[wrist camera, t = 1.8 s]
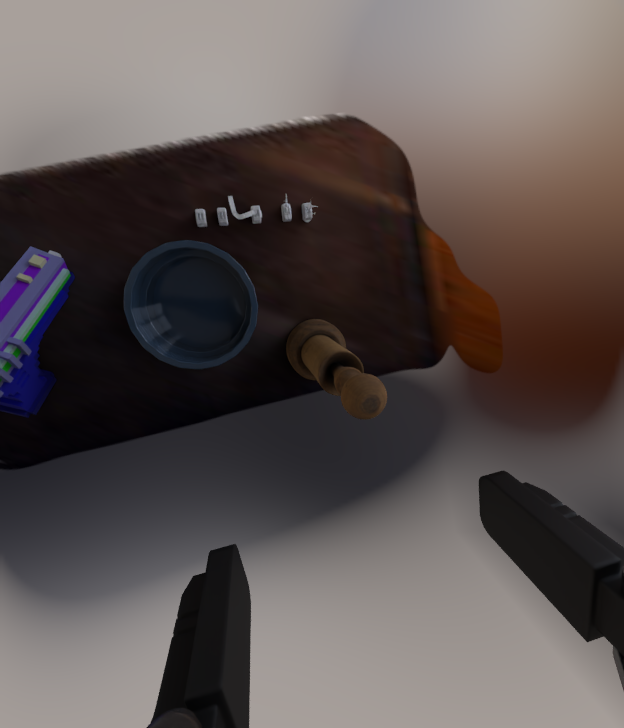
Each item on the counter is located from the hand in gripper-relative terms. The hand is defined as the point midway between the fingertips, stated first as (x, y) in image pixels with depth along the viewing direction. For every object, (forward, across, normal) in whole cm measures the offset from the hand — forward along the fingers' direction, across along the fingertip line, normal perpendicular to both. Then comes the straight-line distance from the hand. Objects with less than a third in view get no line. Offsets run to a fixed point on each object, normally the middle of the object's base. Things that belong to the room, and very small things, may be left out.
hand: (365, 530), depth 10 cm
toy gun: (+27, +23, -7) cm, 36 cm away
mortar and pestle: (+28, -3, 0) cm, 28 cm away
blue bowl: (+28, +8, -7) cm, 29 cm away
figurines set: (+28, 0, -15) cm, 31 cm away
